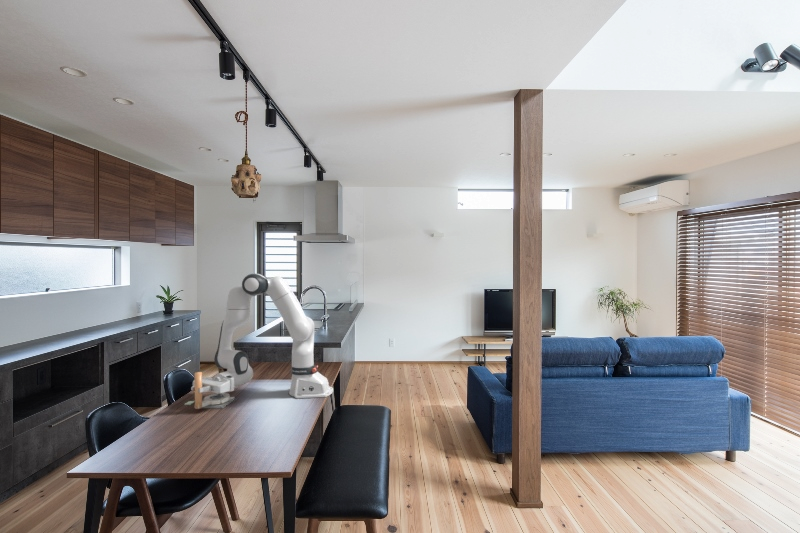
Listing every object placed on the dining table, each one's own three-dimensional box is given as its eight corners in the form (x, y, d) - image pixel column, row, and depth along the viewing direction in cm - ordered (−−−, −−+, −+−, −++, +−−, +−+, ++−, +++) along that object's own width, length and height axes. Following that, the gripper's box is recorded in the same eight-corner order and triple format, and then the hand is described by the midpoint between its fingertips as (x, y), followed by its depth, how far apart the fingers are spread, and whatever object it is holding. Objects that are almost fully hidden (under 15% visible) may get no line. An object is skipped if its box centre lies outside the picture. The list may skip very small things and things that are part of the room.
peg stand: (218, 395, 194) (217, 363, 194) (234, 398, 189) (234, 365, 189) (187, 406, 178) (186, 372, 178) (204, 410, 174) (203, 374, 174)
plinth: (235, 399, 192) (234, 391, 192) (222, 408, 180) (222, 399, 180) (211, 399, 193) (211, 391, 193) (197, 408, 181) (197, 399, 181)
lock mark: (195, 401, 189) (195, 401, 189) (190, 404, 185) (190, 404, 185) (189, 401, 189) (189, 401, 189) (184, 404, 185) (184, 403, 185)
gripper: (208, 372, 194) (181, 380, 182) (236, 377, 184) (209, 386, 172) (208, 385, 194) (181, 393, 182) (236, 391, 184) (209, 400, 172)
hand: (195, 389), depth 177 cm, fingers open, 4 cm apart
